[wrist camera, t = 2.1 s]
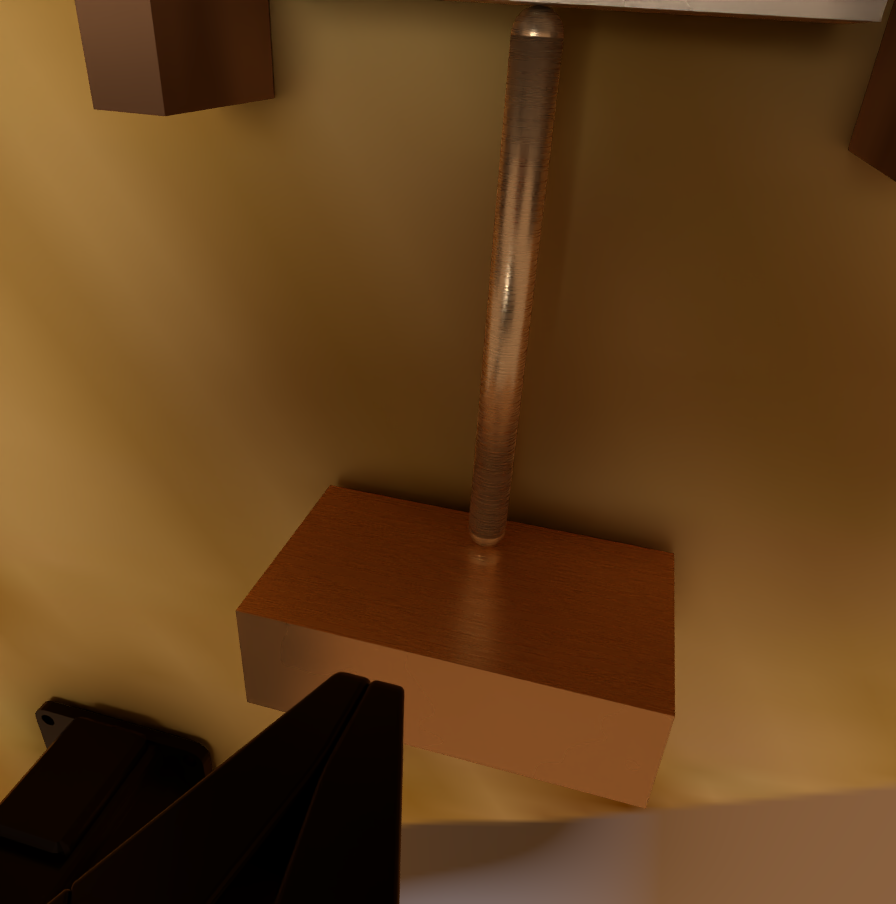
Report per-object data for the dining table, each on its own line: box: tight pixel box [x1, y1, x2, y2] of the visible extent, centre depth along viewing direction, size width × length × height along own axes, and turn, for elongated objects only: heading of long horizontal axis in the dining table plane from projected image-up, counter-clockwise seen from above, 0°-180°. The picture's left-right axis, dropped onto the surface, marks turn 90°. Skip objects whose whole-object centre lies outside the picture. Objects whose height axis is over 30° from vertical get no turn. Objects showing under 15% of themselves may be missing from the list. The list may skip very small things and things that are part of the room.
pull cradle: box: [236, 0, 887, 808], centre depth 11 cm, size 21×9×4 cm, turn 177°
